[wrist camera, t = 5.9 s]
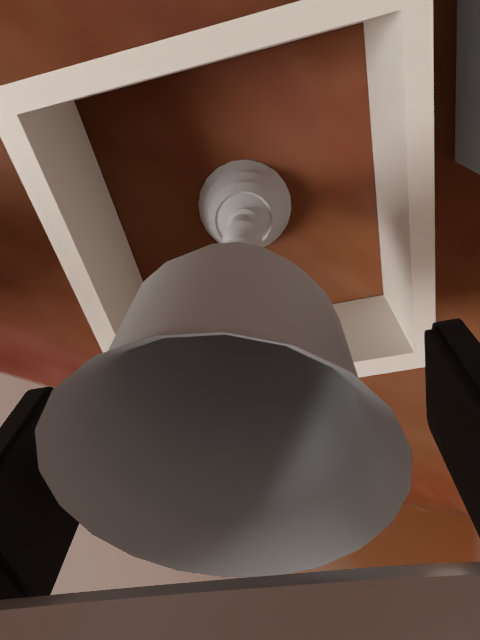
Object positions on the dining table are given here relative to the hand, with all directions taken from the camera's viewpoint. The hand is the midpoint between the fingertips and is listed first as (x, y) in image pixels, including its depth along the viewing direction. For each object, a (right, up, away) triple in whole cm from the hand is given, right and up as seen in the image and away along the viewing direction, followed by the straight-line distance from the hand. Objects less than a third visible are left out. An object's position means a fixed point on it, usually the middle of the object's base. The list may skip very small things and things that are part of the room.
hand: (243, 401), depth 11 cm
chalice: (0, +8, +13) cm, 15 cm away
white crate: (0, +8, +13) cm, 15 cm away
